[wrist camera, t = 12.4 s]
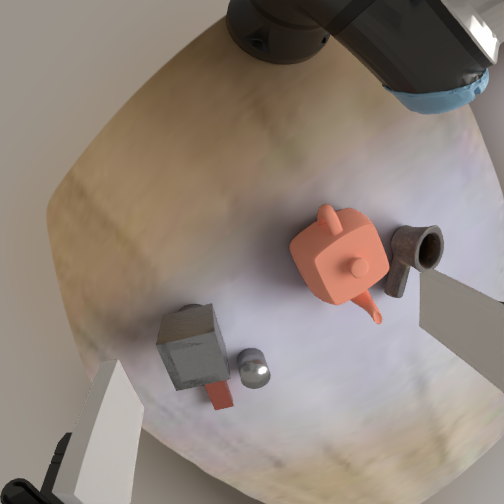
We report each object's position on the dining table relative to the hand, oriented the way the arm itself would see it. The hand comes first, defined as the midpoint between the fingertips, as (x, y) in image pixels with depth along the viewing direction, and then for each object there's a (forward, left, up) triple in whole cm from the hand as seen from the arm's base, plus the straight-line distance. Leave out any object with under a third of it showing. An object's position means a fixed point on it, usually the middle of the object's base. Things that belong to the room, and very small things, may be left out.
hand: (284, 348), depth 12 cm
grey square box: (+13, -8, -29) cm, 32 cm away
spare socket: (+22, -1, -32) cm, 39 cm away
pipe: (+12, +26, -32) cm, 43 cm away
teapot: (+8, +14, -32) cm, 36 cm away
